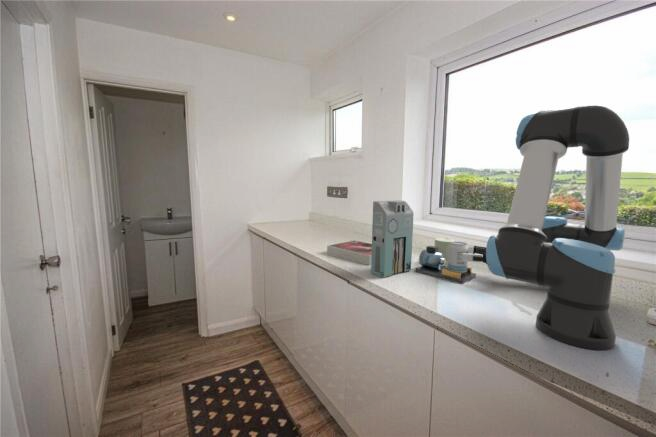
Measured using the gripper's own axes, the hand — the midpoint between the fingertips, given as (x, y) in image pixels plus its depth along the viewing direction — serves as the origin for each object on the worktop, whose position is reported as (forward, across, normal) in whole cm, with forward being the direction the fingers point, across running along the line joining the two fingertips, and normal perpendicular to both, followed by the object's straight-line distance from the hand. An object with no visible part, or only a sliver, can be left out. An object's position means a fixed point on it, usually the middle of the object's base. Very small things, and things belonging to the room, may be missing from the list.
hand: (459, 252), depth 114 cm
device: (+26, -1, -10) cm, 28 cm away
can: (+3, +20, -10) cm, 22 cm away
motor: (+4, +3, -10) cm, 11 cm away
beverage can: (0, 0, -8) cm, 8 cm away
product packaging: (+42, +23, -11) cm, 50 cm away
